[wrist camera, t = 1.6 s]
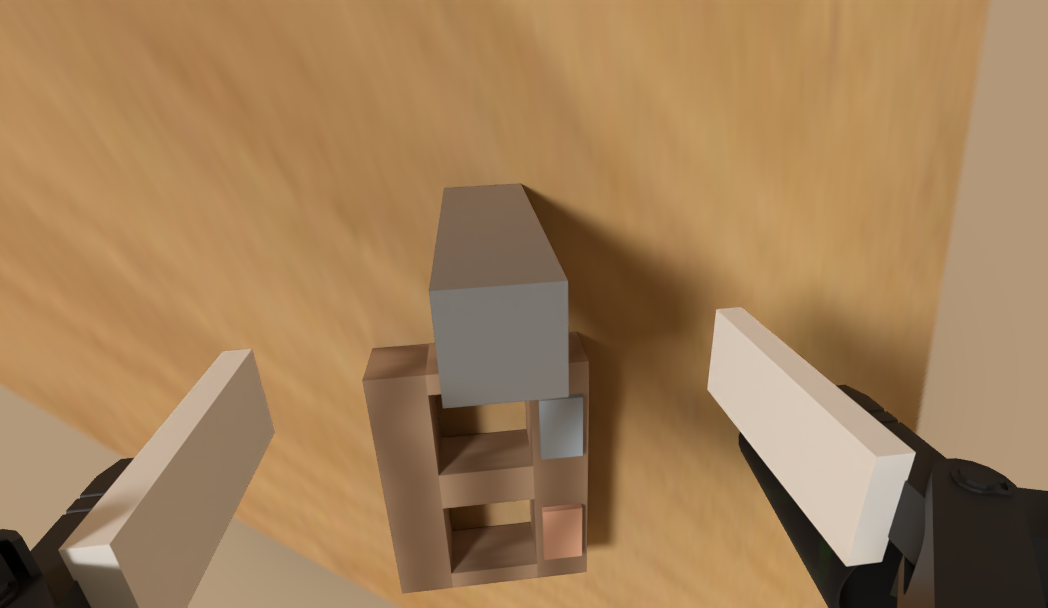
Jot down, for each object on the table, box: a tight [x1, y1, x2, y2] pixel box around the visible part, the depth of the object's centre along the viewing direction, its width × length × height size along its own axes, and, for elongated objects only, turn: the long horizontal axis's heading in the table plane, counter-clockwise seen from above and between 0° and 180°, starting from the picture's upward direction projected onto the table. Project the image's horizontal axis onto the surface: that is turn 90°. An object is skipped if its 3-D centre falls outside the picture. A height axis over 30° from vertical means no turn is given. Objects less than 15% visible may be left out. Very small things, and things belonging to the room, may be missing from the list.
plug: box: [429, 184, 569, 408], centre depth 23 cm, size 4×4×14 cm
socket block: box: [363, 332, 589, 594], centre depth 33 cm, size 12×16×4 cm
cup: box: [739, 432, 903, 608], centre depth 32 cm, size 8×8×12 cm
